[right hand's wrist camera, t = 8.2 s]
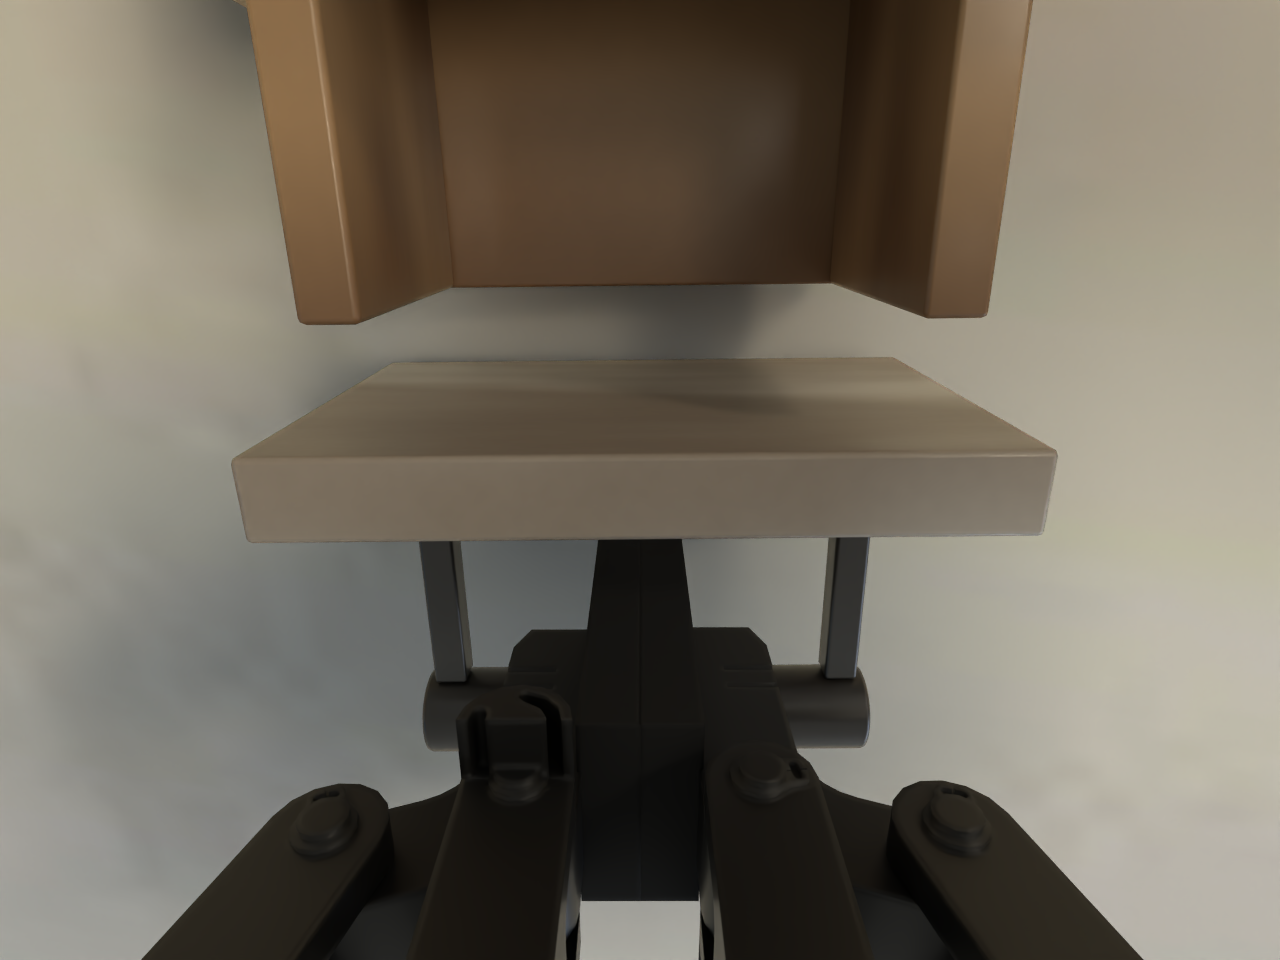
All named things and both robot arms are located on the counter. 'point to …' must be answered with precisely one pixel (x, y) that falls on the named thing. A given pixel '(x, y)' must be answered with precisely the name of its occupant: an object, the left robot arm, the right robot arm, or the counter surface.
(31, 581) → the counter surface
